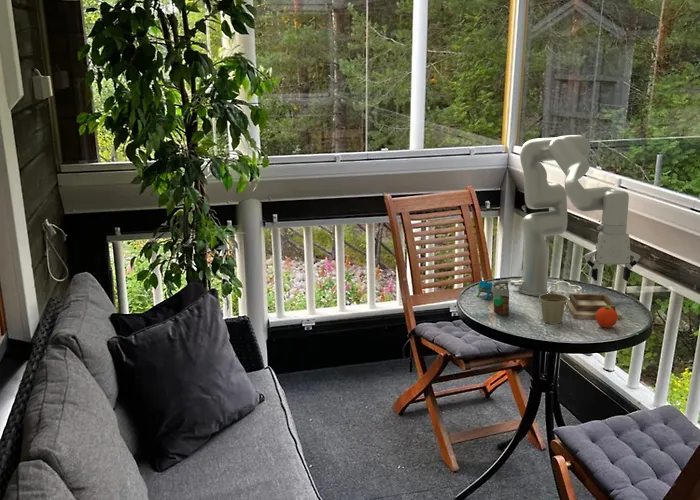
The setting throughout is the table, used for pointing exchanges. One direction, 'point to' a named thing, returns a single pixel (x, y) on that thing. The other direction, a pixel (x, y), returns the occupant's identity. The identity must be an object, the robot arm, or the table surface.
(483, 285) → the toy dinosaur
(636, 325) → the table surface
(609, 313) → the clementine
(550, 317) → the flower pot
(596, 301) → the board
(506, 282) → the food container
